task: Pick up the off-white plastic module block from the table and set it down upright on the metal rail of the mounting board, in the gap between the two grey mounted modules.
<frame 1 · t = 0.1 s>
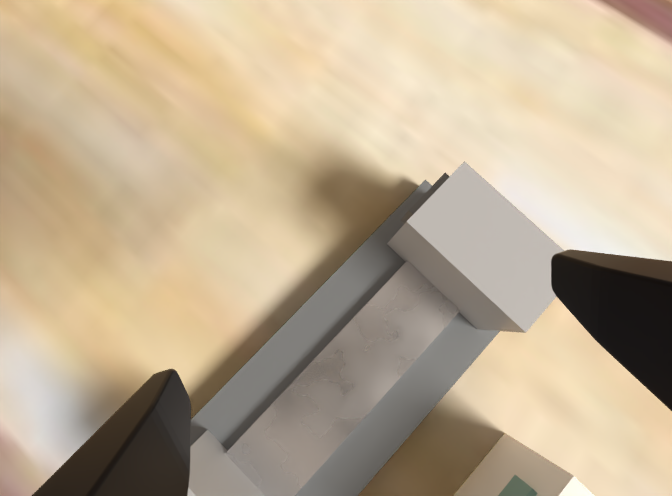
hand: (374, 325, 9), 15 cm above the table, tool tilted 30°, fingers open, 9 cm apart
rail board: (345, 374, 23), on the table
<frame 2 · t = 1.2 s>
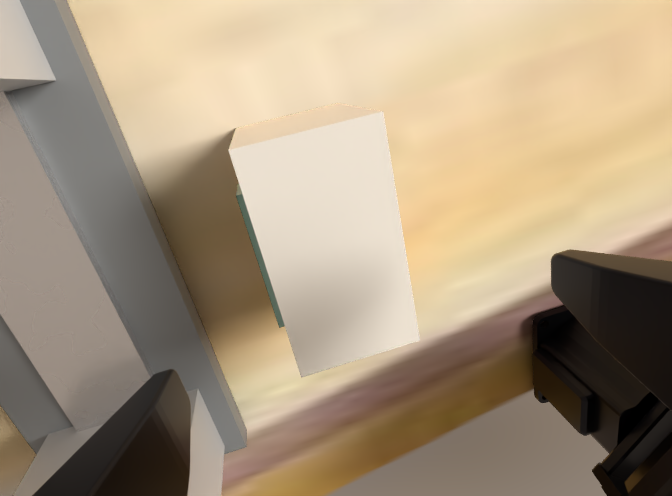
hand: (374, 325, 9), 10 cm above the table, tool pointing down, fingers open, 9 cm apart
module block: (310, 204, 19), on the table
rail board: (64, 271, 18), on the table
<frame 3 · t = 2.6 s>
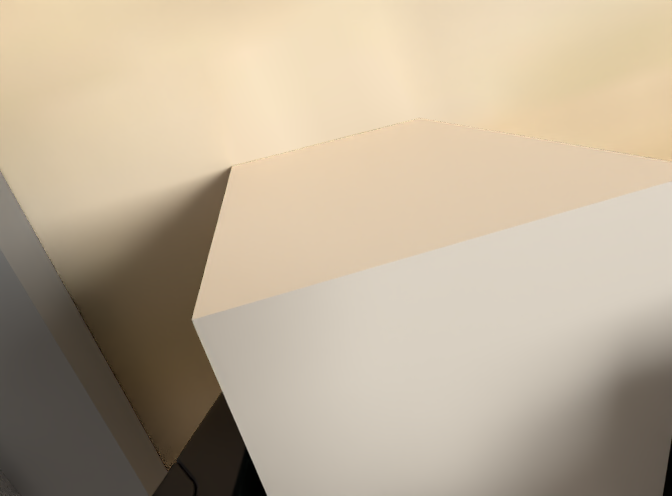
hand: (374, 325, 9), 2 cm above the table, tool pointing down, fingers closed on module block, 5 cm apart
module block: (361, 292, 11), on the table, touching gripper
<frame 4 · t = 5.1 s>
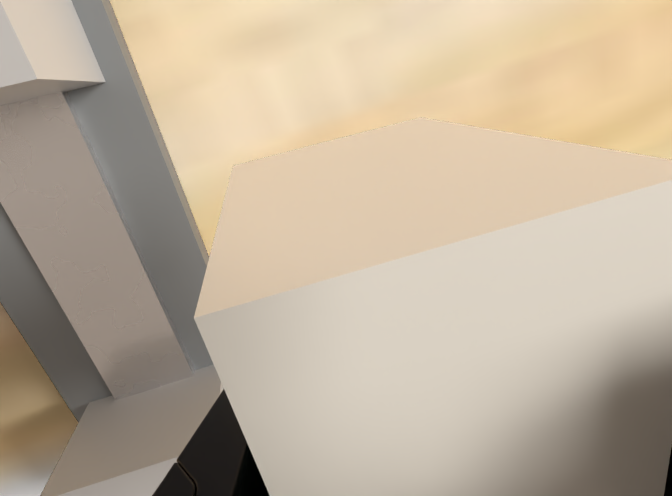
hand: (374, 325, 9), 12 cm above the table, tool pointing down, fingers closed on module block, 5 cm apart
module block: (362, 292, 11), point 11 cm above the table, touching gripper
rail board: (105, 253, 19), on the table
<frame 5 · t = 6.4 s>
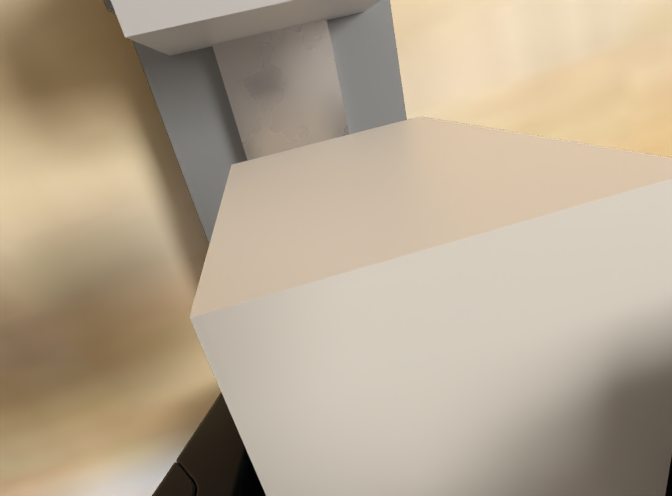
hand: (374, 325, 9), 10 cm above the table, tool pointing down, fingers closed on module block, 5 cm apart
module block: (361, 292, 11), point 8 cm above the table, touching gripper
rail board: (311, 209, 18), on the table
when the fingers open (5 cm above the table, at t = 7.6 s): module block drops 1 cm, resting on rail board.
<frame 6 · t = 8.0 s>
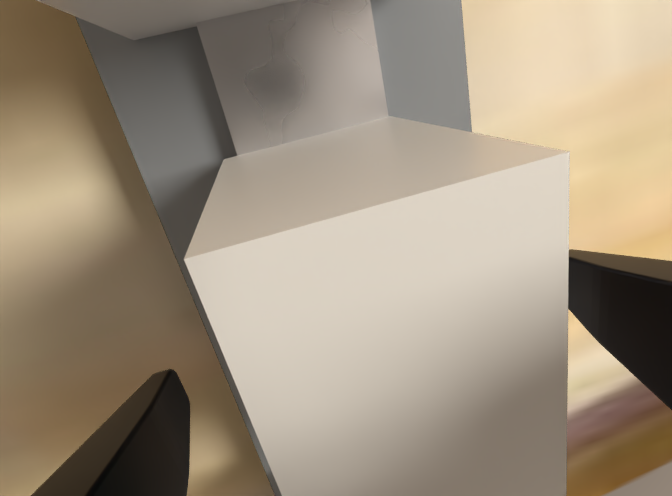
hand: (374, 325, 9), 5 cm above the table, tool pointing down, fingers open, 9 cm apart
module block: (341, 273, 12), point 2 cm above the table, touching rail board
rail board: (335, 251, 13), on the table
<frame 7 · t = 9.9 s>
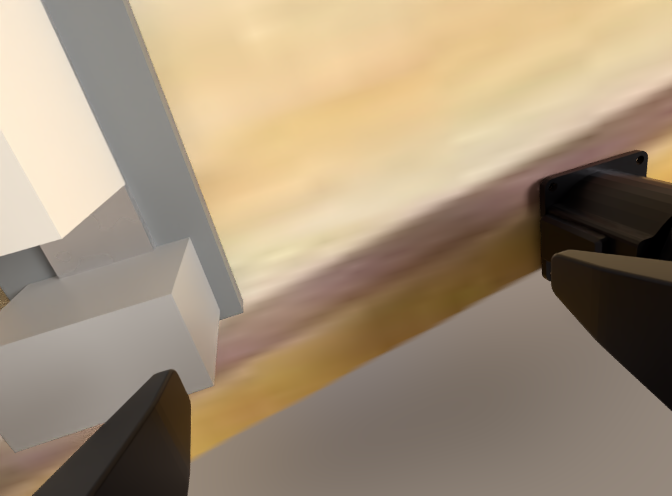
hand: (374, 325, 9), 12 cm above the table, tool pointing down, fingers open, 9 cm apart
module block: (14, 94, 15), point 2 cm above the table, touching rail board
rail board: (39, 93, 16), on the table
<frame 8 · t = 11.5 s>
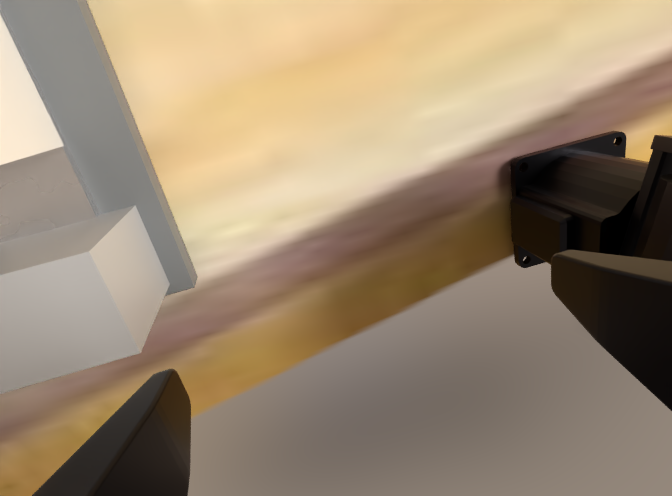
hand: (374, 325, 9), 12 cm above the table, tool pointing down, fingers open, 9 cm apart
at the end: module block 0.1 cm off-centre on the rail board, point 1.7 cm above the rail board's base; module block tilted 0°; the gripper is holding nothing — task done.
